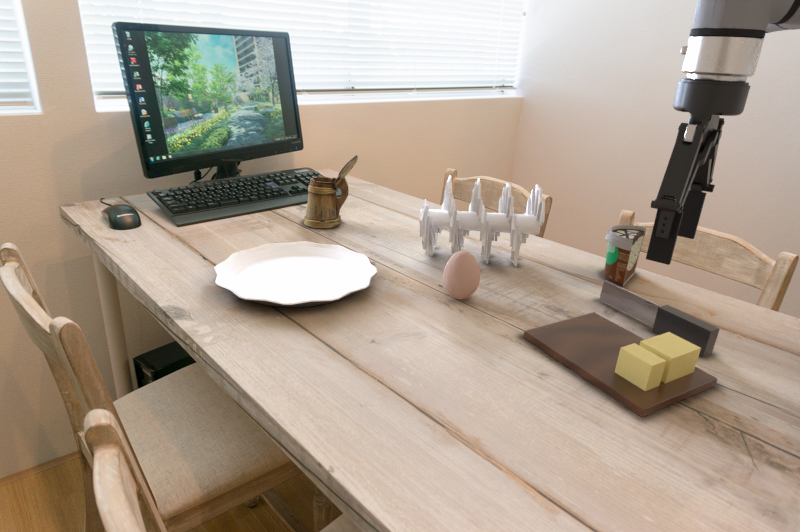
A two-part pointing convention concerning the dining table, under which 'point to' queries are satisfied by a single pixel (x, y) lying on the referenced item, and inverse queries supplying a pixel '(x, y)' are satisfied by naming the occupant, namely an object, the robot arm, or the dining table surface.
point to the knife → (662, 317)
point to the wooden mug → (327, 198)
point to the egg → (461, 275)
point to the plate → (295, 273)
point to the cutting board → (610, 361)
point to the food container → (623, 252)
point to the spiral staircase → (482, 220)
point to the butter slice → (640, 366)
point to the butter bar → (673, 355)
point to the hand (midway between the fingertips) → (671, 248)
